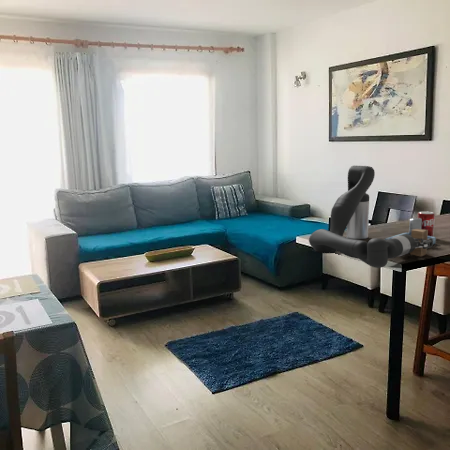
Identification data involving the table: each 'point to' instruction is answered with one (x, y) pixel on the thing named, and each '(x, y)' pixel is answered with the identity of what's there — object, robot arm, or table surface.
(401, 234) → the tote
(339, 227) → the robot arm
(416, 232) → the brown rectangular block
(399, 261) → the table surface
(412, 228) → the metal cylinder
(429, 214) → the soda can
